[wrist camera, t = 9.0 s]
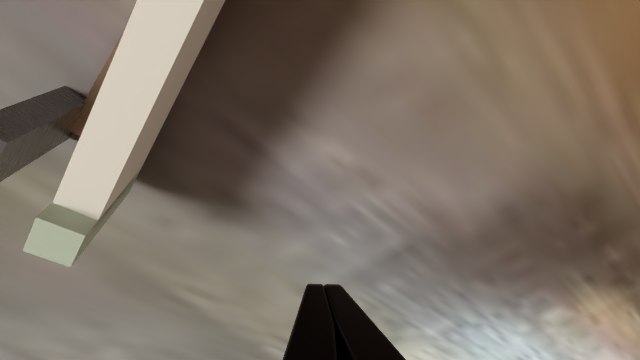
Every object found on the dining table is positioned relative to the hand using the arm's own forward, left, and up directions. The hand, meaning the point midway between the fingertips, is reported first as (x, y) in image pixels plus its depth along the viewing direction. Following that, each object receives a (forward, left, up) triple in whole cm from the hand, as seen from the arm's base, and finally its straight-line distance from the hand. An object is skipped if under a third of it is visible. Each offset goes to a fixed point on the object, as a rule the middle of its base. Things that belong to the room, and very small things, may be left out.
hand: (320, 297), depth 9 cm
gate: (-1, -7, -11) cm, 13 cm away
